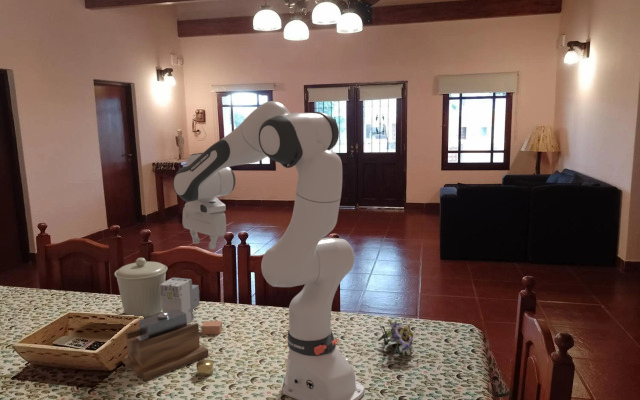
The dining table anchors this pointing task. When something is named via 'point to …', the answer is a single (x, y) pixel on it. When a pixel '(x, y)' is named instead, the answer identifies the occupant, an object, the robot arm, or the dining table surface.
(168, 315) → the slider plate with knob
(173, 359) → the stand
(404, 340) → the passion flower
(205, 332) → the terracotta block
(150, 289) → the canister
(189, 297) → the circuit breaker
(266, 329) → the dining table surface
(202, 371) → the brass knob
